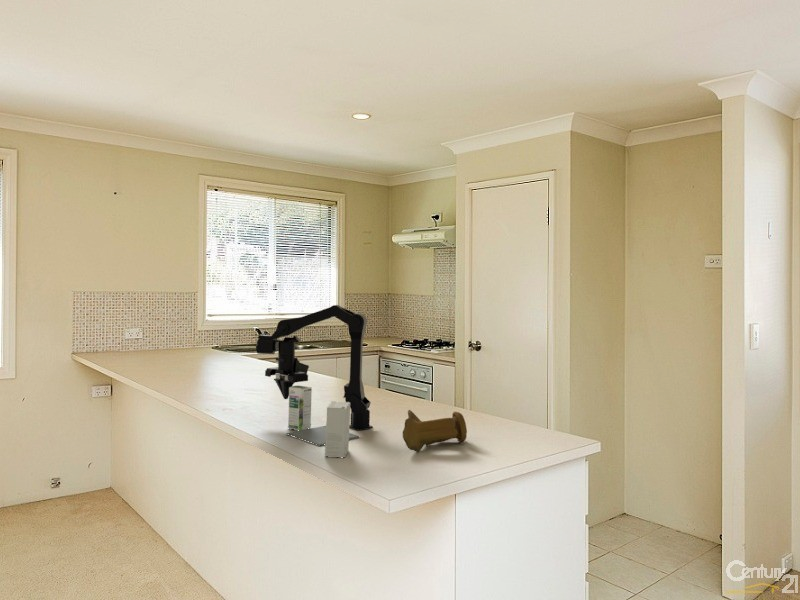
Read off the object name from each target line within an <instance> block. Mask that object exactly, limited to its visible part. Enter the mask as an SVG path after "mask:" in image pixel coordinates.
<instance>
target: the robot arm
mask: <svg viewBox="0 0 800 600" xmlns="http://www.w3.org/2000/svg"><path fill="white" fill-rule="evenodd" d="M332 318H336V319H338V320H340V321H341V322H343V323H345V324H347V329H348V333H349V337H350V358H349V360H350V362H349V363H350V366H349V382H348V383H346V384H345V385H344V386H343V391H344V393H343V394H344V395H343V397H342V398H343V399H344V400H345V401H344V402H350V424H349V429H352V430H355V431H356V430H357V431H363V430H369V429H372V428H373V427H374V425H373V426H372V425H371V424H370V419H371V418H370V416H371V415H370V413H371V412H370V410H369V408H370V406H371V403H372V402H371V401H370V400H369V399H368V397H366V395H365V394H366V393H365V388H364V384H363V380H362V379H363V378H362V375H363V373H362V372H363V346H364V345H363V343H364V336H365V333H366V329H367V324H368V318H367V317H366V316H365V314H363V313H360V312H359V313H358V312H357V313H355V312H353V311H351V310H350V309H346V308H345V307H342V306H341V305H339V304H333V305H332V306H330V307H326V308H324V309H321V310H318V311H315V312H312V313H310V314H305V315H303V316H298V317H293V318H286V319H282V320H279V321H278V322H277V324H276V329H275V331H274V332H273V333H272V334H271V335H267V334H259V335H258V339H257V341H256V345H255V350H256V353H257V354H258V355H275V353H276V352H277V354H278V355H277V356H276V357H275V361H276V362H277V367H267V368H266V369H265V370H264V371H265V374H264V376H265V377H269V378H270V377H272V376H275V378H274V379H273V381H275V383H276V385H277V387H278V389H279V391H280V393H281V395H282V397H283V399H284V400H289V387H292V386H294V384H295V383H301V382H308V381H309V375H308V371H309V368H310V365H308V364H306V363H303V362H300V360H299V359H298V357H296V343H300V342H301V341H302V340H301V338H299V337H298V335H296V333H297V332H300V331H301V330H303V329H304V328H306V327H308V326H311V325H313V324H317V323H320V322H323V321H326V320H329V319H332ZM294 334H295V335H294ZM291 335H293V337H292V336H291ZM289 336H291V337H289ZM280 338H281V339H280ZM282 338H283V339H282Z"/></svg>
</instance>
